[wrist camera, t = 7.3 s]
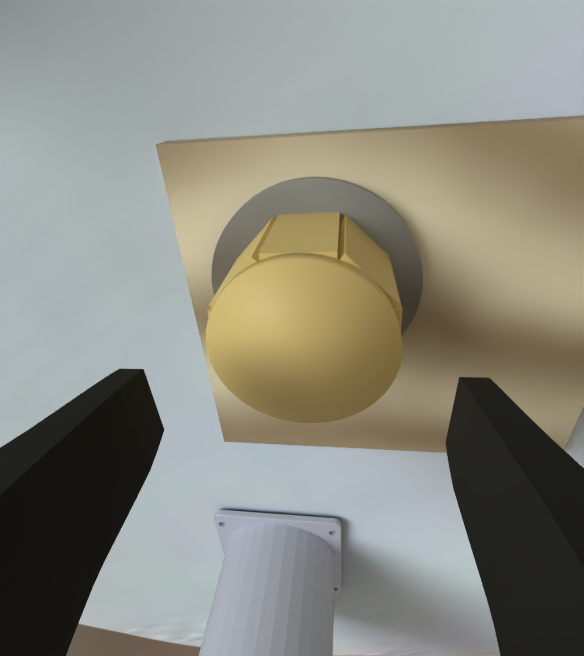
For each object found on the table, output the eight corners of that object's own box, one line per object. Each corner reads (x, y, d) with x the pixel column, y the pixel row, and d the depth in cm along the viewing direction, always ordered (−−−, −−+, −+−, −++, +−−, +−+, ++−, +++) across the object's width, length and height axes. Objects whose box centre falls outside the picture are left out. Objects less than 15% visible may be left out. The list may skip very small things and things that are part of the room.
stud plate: (552, 444, 19) (590, 510, 16) (228, 429, 21) (209, 485, 18) (695, 109, 11) (815, 119, 8) (165, 141, 13) (116, 158, 10)
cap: (384, 349, 15) (395, 426, 12) (249, 348, 16) (223, 420, 13) (394, 209, 12) (411, 259, 9) (228, 216, 13) (186, 264, 10)
